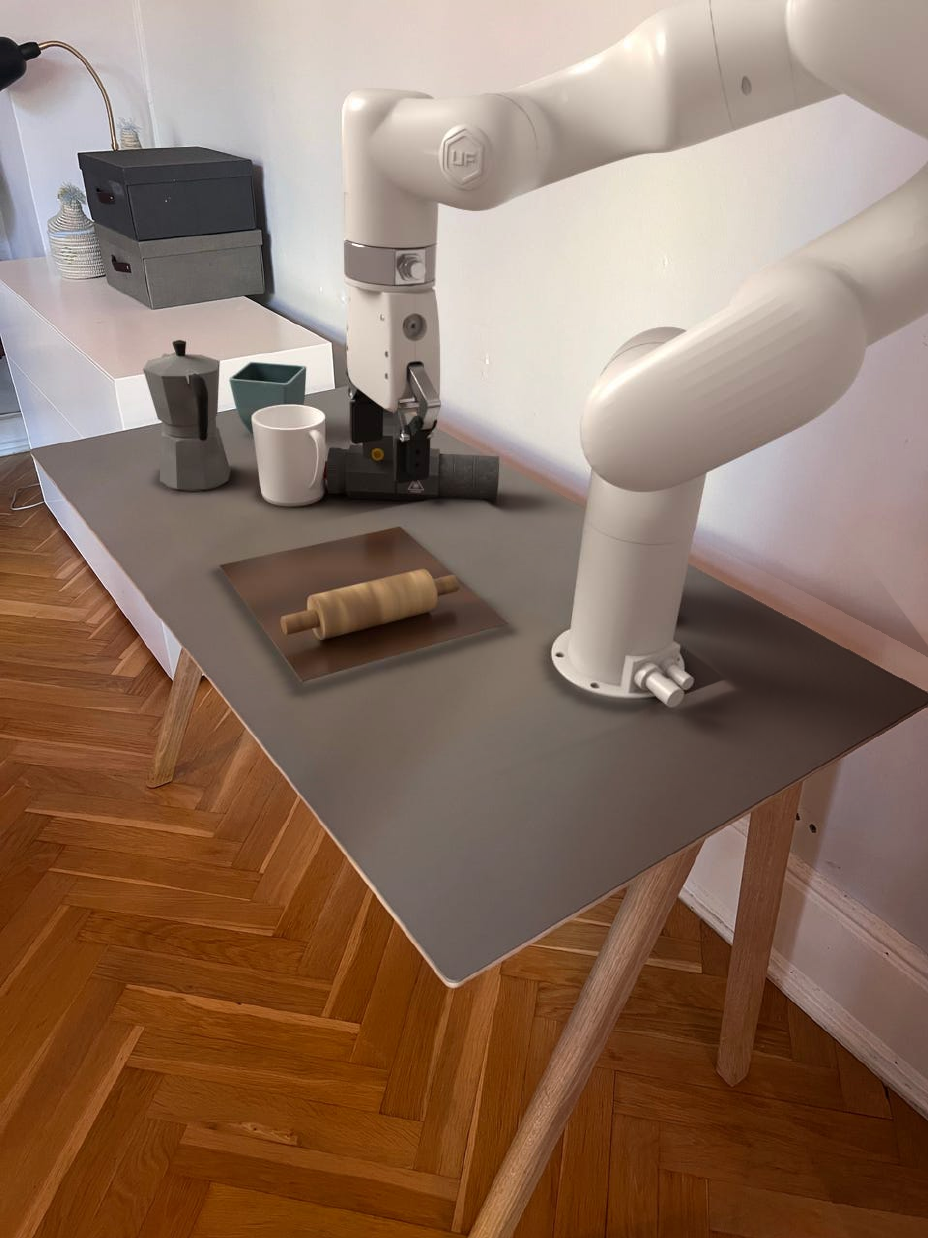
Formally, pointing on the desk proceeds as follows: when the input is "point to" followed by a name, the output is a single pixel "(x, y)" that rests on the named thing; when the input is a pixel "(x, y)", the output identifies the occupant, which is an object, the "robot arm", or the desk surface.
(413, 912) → the desk surface
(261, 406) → the flower pot
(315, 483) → the mug
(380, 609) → the rolling pin
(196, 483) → the coffeepot
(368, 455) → the laser sight
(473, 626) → the pastry board
